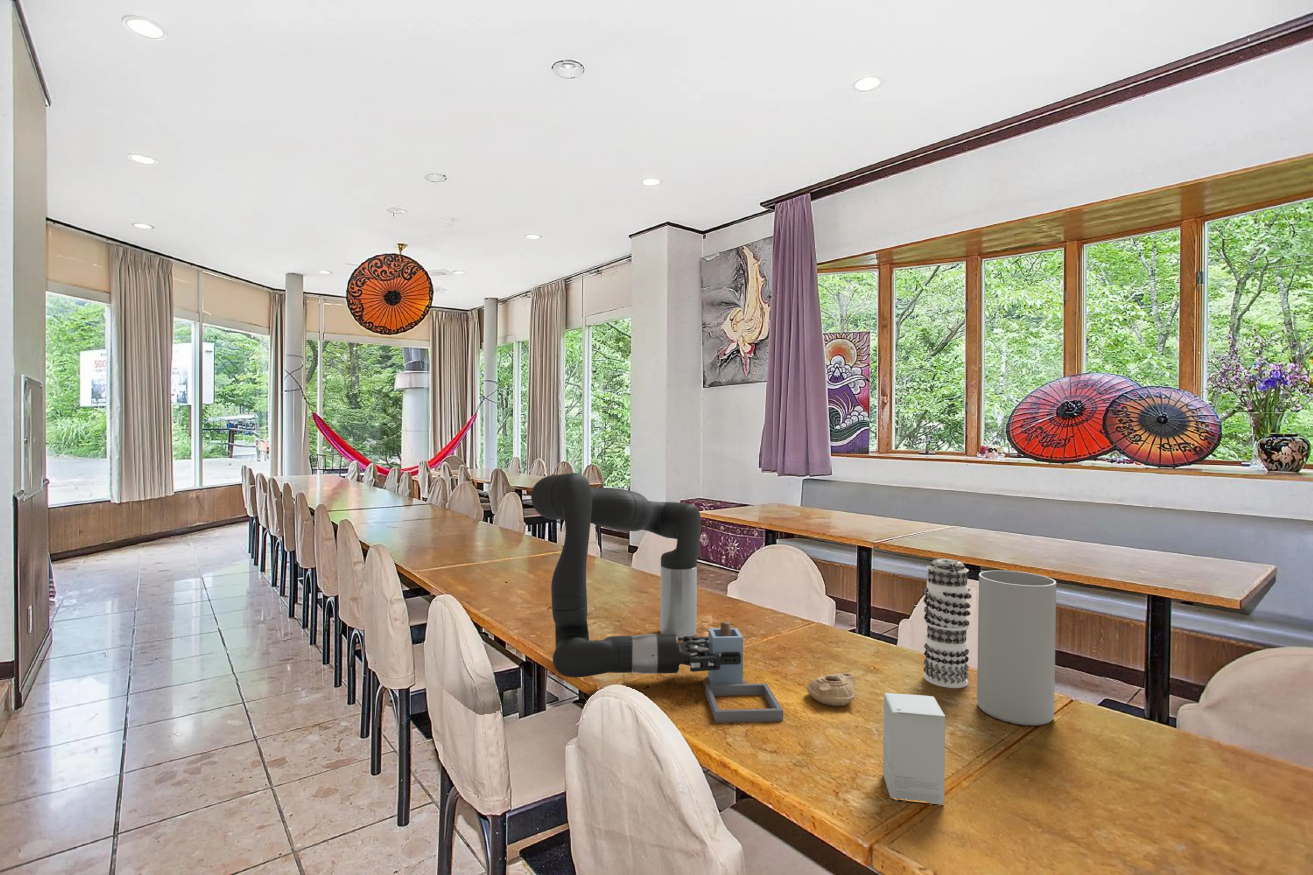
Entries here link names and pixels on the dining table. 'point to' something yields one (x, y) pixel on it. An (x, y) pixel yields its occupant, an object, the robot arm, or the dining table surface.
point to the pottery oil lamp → (833, 689)
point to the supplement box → (914, 748)
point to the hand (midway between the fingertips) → (736, 652)
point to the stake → (723, 632)
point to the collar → (726, 644)
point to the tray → (743, 714)
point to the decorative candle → (946, 624)
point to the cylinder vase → (1016, 646)
